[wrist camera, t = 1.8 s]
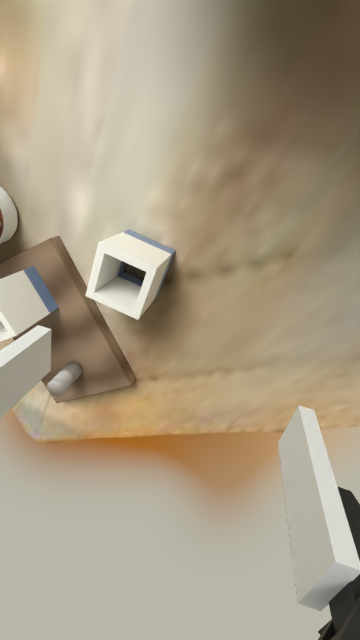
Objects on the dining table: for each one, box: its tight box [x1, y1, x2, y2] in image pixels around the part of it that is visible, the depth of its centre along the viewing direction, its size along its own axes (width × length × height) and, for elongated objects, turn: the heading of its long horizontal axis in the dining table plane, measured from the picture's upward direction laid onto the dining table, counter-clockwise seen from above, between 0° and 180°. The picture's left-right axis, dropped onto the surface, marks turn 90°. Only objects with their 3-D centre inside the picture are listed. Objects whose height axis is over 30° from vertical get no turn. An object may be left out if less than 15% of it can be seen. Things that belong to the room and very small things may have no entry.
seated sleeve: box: [0, 266, 59, 341], centre depth 35 cm, size 6×6×8 cm
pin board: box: [0, 236, 135, 403], centre depth 39 cm, size 22×14×7 cm, turn 23°
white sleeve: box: [85, 230, 175, 320], centre depth 32 cm, size 6×6×8 cm
